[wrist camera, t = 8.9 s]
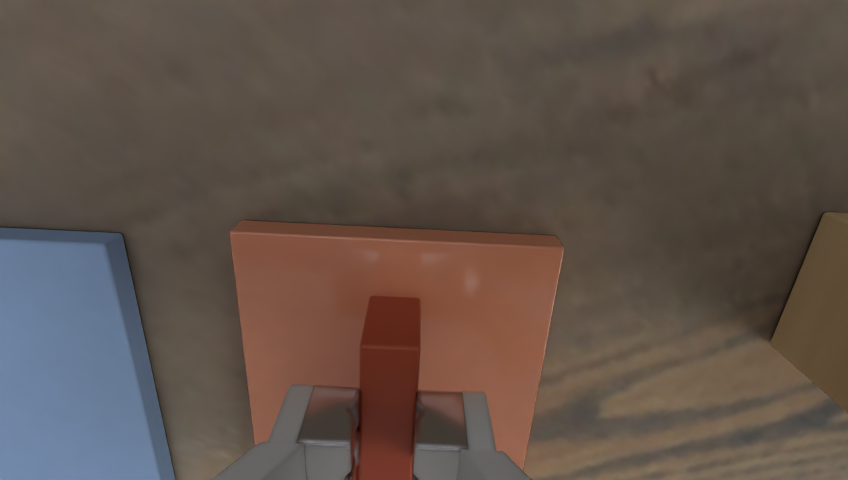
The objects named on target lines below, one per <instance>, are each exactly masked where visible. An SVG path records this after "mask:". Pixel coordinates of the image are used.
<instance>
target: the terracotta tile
mask: <svg viewBox="0 0 848 480" xmlns="http://www.w3.org/2000/svg"><path fill="white" fill-rule="evenodd" d="M230 240H231V248H232V257H233V265H234V273H235V282H236V290H237V299H238V307H239V316H240V324H241V332H242V341H243V349H244V358H245V366H246V374H247V383H248V391H249V400H250V408H251V417H252V425H253V433H254V442H255V446H256V445H257V444H258V443H260V442H268V440H269V437H270V435H271V432H272V429H273V427H274V424H275V422H276V419H277V417H278V414H279V411H280V409H281V406H282V404H283V401H284V398H285V396H286V393H287V391H288V388H289V387H290V386H291V385H292V384H303V385H315V386H316V385H326V386H342V387H357V388H359V351H360V342H361V337H362V332H363V327H364V322H365V317H366V312H367V307H368V302H369V298H370V297H371V296H393V297H414V298H419V299H420V301H421V352H420V367H419V383H418V390H431V391H460V392H461V391H484V392H485V394H486V396H487V401H488V407H489V412H490V418H491V423H492V429H493V434H494V440H495V445H496V451H504V452H505V453H506V454H507V455H508V456H509V457H510V458H511V459H512V460H513V461H514V462H515V463H516V465H517V466H518V467H519V468H520V469H521V470H522V471H523V468H524V463H525V457H526V452H527V447H528V441H529V436H530V431H531V425H532V420H533V415H534V409H535V404H536V399H537V393H538V388H539V383H540V377H541V372H542V367H543V361H544V356H545V351H546V345H547V340H548V335H549V329H550V324H551V319H552V313H553V308H554V302H555V297H556V292H557V286H558V281H559V276H560V270H561V265H562V260H563V254H564V247H563V245H562V244H561V242H560V241H559V239H558V238H557V236H550V235H530V234H510V233H489V232H469V231H449V230H428V229H408V228H388V227H367V226H347V225H327V224H306V223H286V222H266V221H245V220H242V221H240V222H239V223H238V224H237V225H236V226H235V227H234V228H233V229H232V230H231V231H230Z"/></svg>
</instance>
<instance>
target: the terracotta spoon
mask: <svg viewBox="0 0 848 480" xmlns="http://www.w3.org/2000/svg"><path fill="white" fill-rule="evenodd" d="M420 352H421V301H420V299H419V298H414V297H393V296H371V297H370V298H369V302H368V307H367V312H366V317H365V322H364V327H363V332H362V337H361V342H360V351H359V390H360V420H359V428H360V458H359V465H358V466H357V467H356V480H412V455H413V434H414V432H415V428H414V416H415V401H416V392H418V383H419V367H420Z"/></svg>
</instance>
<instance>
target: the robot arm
mask: <svg viewBox="0 0 848 480" xmlns="http://www.w3.org/2000/svg"><path fill="white" fill-rule="evenodd" d="M359 420H360V390H359V388H357V387H342V386H326V385H316V386H315V385H303V384H292V385H291V386H290V387H289V388H288V391H287V393H286V396H285V398H284V401H283V404H282V406H281V409H280V411H279V414H278V417H277V419H276V422H275V424H274V427H273V429H272V432H271V435H270V437H269V440H268V442H260V443H258V444H257V445H256V446H255V447H253V448H252V449H251V450H249V451H248V452H247V453H245V454H244V455H243V456H242V457H240V458H239V459H238V460H236V461H235V462H234V463H233V464H231V465H230V466H229V467H227V468H226V469H225V470H223V471H222V472H221V473H220V474H218V475H217V476H216V477H214V478H213V479H212V480H356V467H357V466H358V465H359V458H360V428H359ZM414 428H415V432H414V434H413V455H412V480H531V479H530V478H529V477H528V476H527V475H526V474H525V473H524V472H523V471H522V470H521V469H520V468H519V467H518V466H517V465H516V463H515V462H514V461H513V460H512V459H511V458H510V457H509V456H508V455H507V454H506V453H505V452H504V451H496V445H495V440H494V434H493V429H492V423H491V418H490V412H489V407H488V401H487V396H486V394H485V392H484V391H461V392H460V391H431V390H418V392H416V401H415V416H414Z"/></svg>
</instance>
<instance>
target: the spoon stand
mask: <svg viewBox="0 0 848 480" xmlns="http://www.w3.org/2000/svg"><path fill="white" fill-rule="evenodd" d="M771 345H772V346H773V347H774V348H775V349H776V350H777V351H778V352H779V353H781V354H782V355H783V356H784V357H785V358H786V359H787V360H788V361H790V362H791V363H792V364H793V365H794V366H795V367H796V368H797V369H799V370H800V371H801V372H802V373H803V374H804V375H805V376H806V377H808V378H809V379H810V380H811V381H812V382H813V383H814V384H815V385H817V386H818V387H819V388H820V389H821V390H822V391H823V392H824V393H826V394H827V395H828V396H829V397H830V398H831V399H832V400H833V401H835V402H836V403H837V404H838V405H839V406H840V407H841V408H842V409H843V410H845V411H846V412H847V413H848V213H836V212H826V213H824V214H823V216H822V218H821V221H820V223H819V226H818V228H817V230H816V233H815V235H814V238H813V240H812V243H811V245H810V247H809V250H808V252H807V255H806V257H805V260H804V262H803V264H802V267H801V269H800V272H799V274H798V276H797V279H796V281H795V284H794V286H793V289H792V291H791V293H790V296H789V298H788V301H787V303H786V306H785V308H784V310H783V313H782V315H781V318H780V320H779V323H778V325H777V327H776V330H775V332H774V335H773V337H772V340H771Z"/></svg>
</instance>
